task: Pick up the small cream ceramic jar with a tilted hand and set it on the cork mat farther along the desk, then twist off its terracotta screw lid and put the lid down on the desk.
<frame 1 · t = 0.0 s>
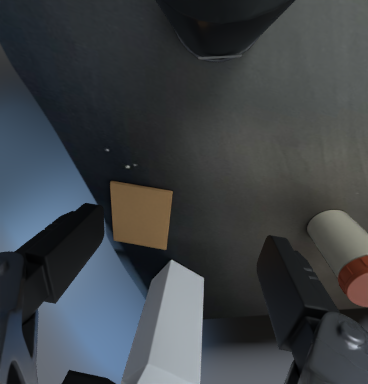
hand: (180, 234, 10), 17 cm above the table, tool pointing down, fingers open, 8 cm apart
mat: (141, 216, 31), on the table
jar: (328, 226, 28), on the table
milk carton: (177, 277, 37), on the table
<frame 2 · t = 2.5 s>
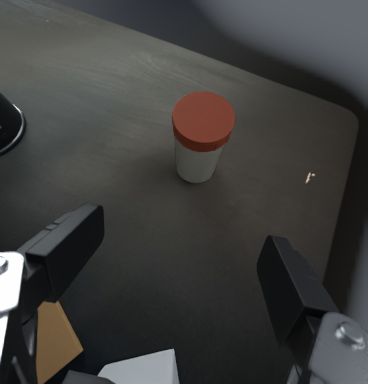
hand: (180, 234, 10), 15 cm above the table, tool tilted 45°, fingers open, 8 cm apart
mat: (19, 332, 21), on the table
lid: (203, 118, 19), point 9 cm above the table, screwed on, not yet turned
jar: (195, 164, 28), on the table
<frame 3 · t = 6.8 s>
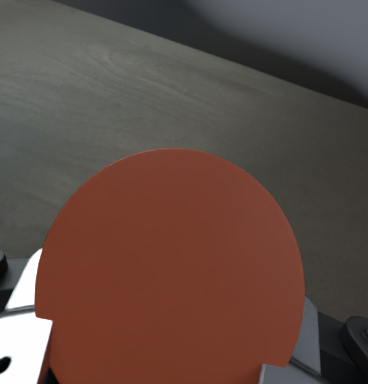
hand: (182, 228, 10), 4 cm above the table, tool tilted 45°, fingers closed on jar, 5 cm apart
lid: (172, 261, 5), point 9 cm above the table, screwed on, not yet turned
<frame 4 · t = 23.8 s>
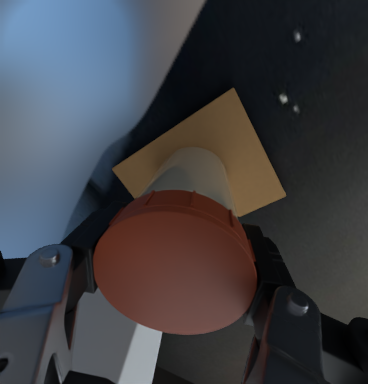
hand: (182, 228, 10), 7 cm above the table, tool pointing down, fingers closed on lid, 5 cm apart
mat: (197, 179, 16), on the table
lid: (173, 274, 7), point 10 cm above the table, screwed on, not yet turned, touching gripper
jar: (192, 181, 16), point 1 cm above the table, touching mat
milk carton: (134, 281, 23), on the table
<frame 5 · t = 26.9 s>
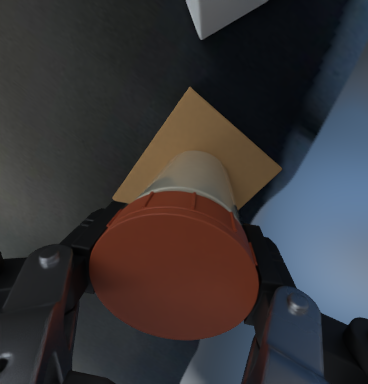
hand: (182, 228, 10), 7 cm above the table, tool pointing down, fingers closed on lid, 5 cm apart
mat: (191, 182, 17), on the table
lid: (172, 278, 7), point 10 cm above the table, off its thread, touching gripper
jar: (194, 185, 16), point 1 cm above the table, touching gripper, mat
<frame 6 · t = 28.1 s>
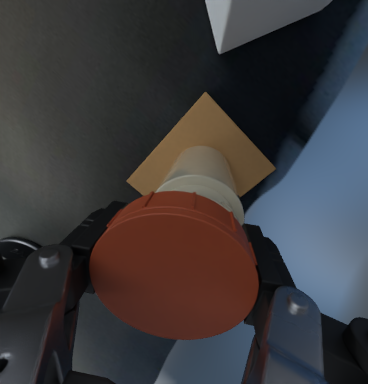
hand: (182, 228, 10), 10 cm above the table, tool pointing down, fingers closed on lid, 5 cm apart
mat: (197, 173, 19), on the table
lid: (172, 278, 7), point 13 cm above the table, off its thread, touching gripper
jar: (200, 175, 19), point 1 cm above the table, touching gripper, mat
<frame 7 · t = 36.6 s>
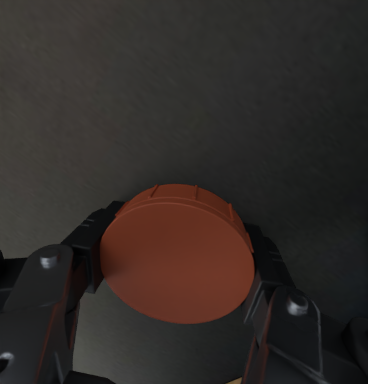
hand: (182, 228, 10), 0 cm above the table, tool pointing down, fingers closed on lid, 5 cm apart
lid: (175, 264, 8), point 3 cm above the table, off its thread, touching gripper
when the fingers open (0 cm above the table, at t = 36.7 s): lid drops 1 cm, point 1 cm above the table.
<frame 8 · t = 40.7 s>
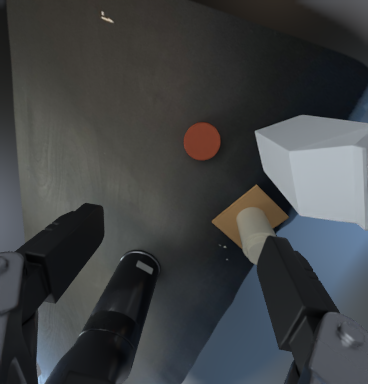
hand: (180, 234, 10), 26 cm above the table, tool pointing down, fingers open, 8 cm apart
mat: (248, 218, 38), on the table
lid: (201, 142, 32), point 1 cm above the table, off its thread
jar: (251, 219, 38), point 1 cm above the table, touching mat
milk carton: (280, 144, 32), on the table
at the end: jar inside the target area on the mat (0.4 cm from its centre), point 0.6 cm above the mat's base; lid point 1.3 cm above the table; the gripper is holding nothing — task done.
